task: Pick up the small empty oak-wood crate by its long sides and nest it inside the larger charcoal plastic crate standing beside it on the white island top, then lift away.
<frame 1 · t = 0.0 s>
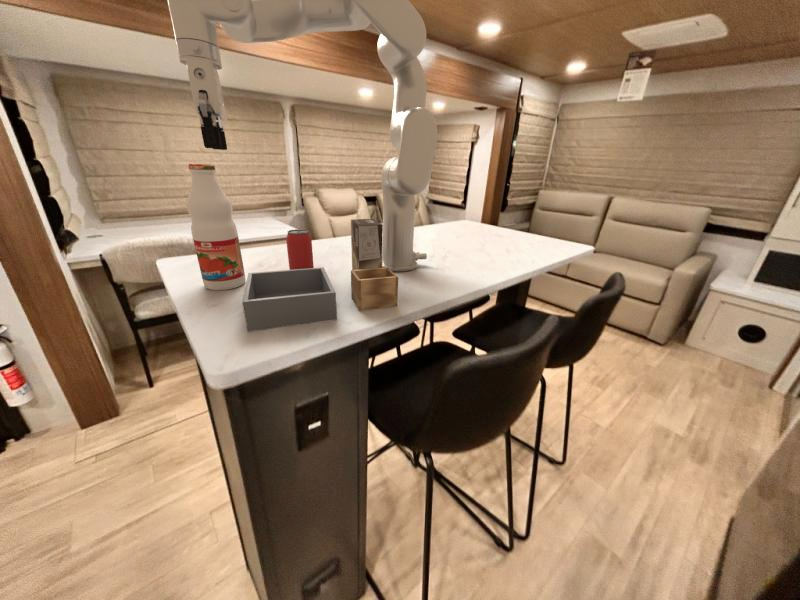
hand: (216, 148, 70), 31 cm above the table, tool pointing down, fingers open, 9 cm apart
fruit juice: (225, 285, 78), on the table
big crate: (292, 307, 67), on the table
beer can: (302, 273, 88), on the table
coffee box: (366, 281, 84), on the table
small crate: (373, 302, 72), on the table
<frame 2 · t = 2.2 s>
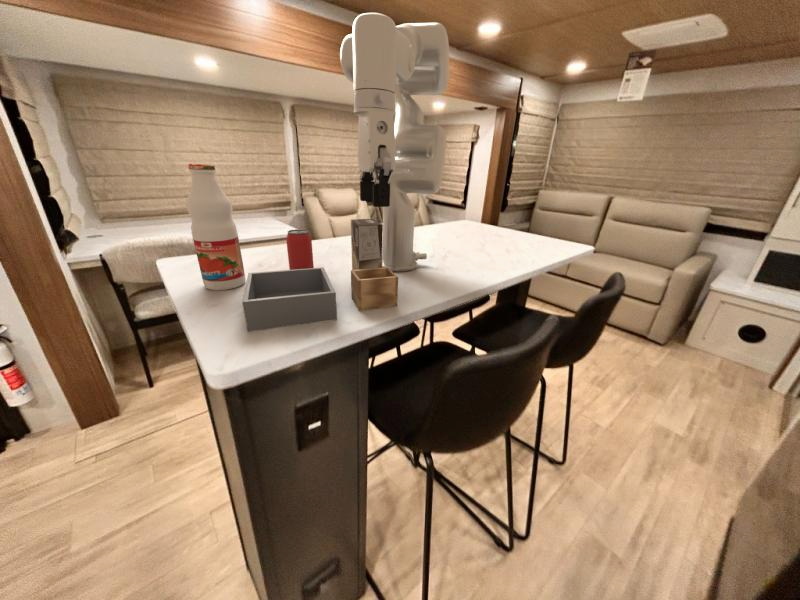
hand: (374, 203, 63), 22 cm above the table, tool pointing down, fingers open, 9 cm apart
nothing on the table moved.
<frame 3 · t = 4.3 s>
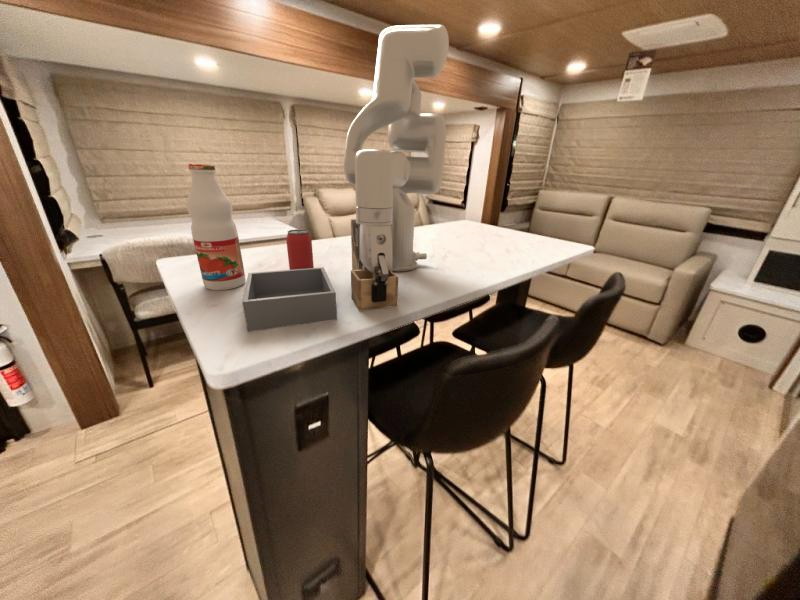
hand: (373, 294, 71), 2 cm above the table, tool pointing down, fingers closed on small crate, 7 cm apart
small crate: (373, 302, 72), on the table, touching gripper
everything else where it was.
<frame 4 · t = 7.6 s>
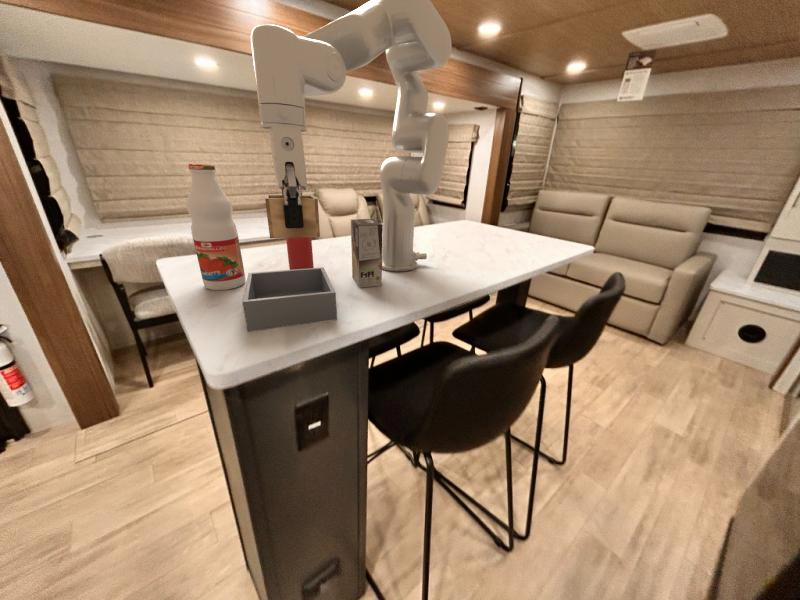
hand: (293, 223, 60), 18 cm above the table, tool pointing down, fingers closed on small crate, 7 cm apart
small crate: (294, 233, 61), point 16 cm above the table, touching gripper
everything else where it was.
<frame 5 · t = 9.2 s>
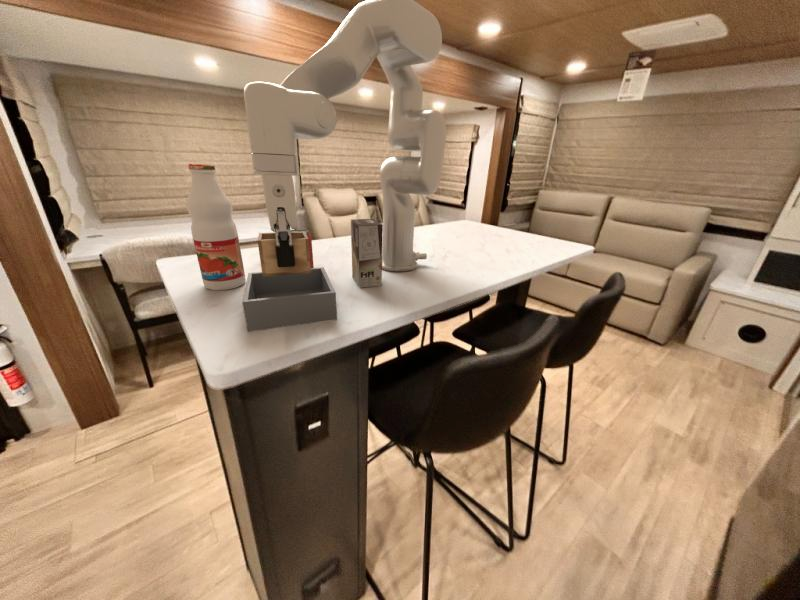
hand: (285, 260, 63), 11 cm above the table, tool pointing down, fingers closed on small crate, 7 cm apart
small crate: (286, 269, 64), point 9 cm above the table, touching gripper
everything else where it was.
when the fingers open (5 cm above the table, at t = 10.8 s): small crate drops 2 cm, resting on big crate.
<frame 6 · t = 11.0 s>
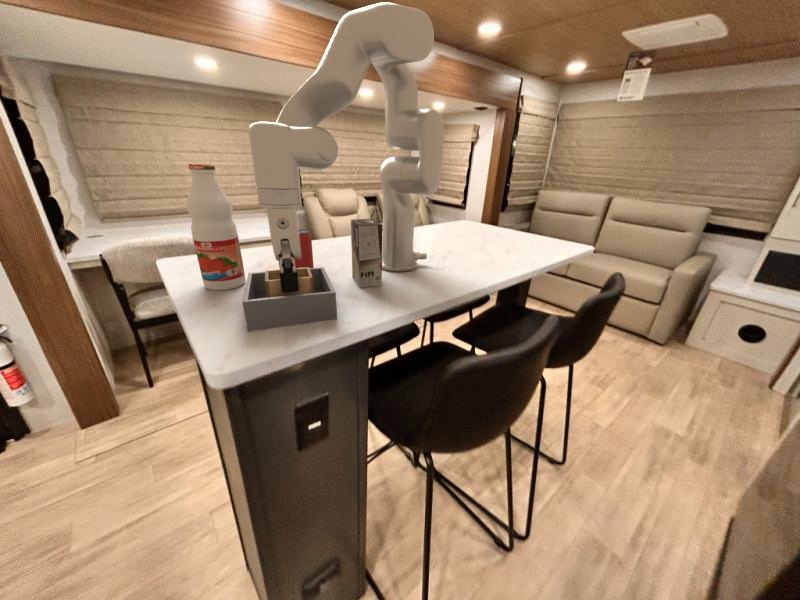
hand: (289, 283, 65), 6 cm above the table, tool pointing down, fingers open, 9 cm apart
small crate: (292, 304, 67), point 1 cm above the table, touching big crate
everything else where it was.
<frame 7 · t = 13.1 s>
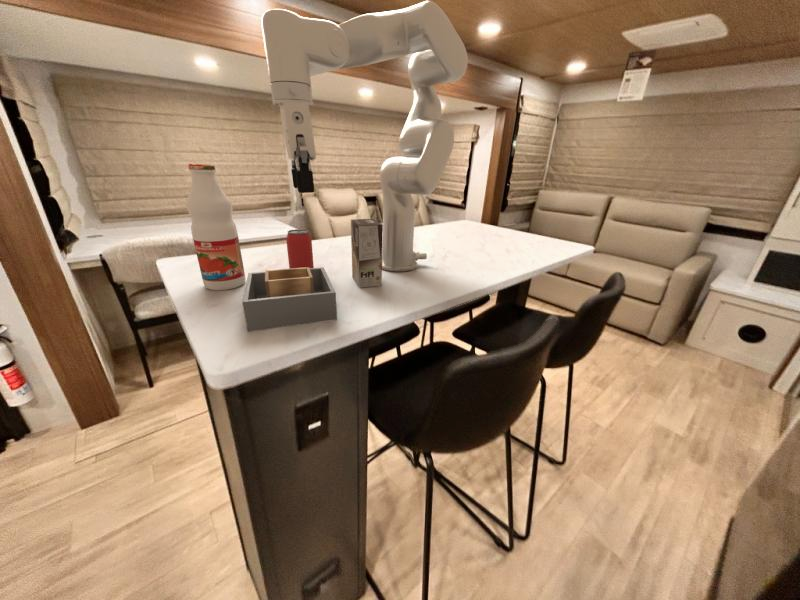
hand: (303, 189, 67), 24 cm above the table, tool pointing down, fingers open, 9 cm apart
nothing on the table moved.
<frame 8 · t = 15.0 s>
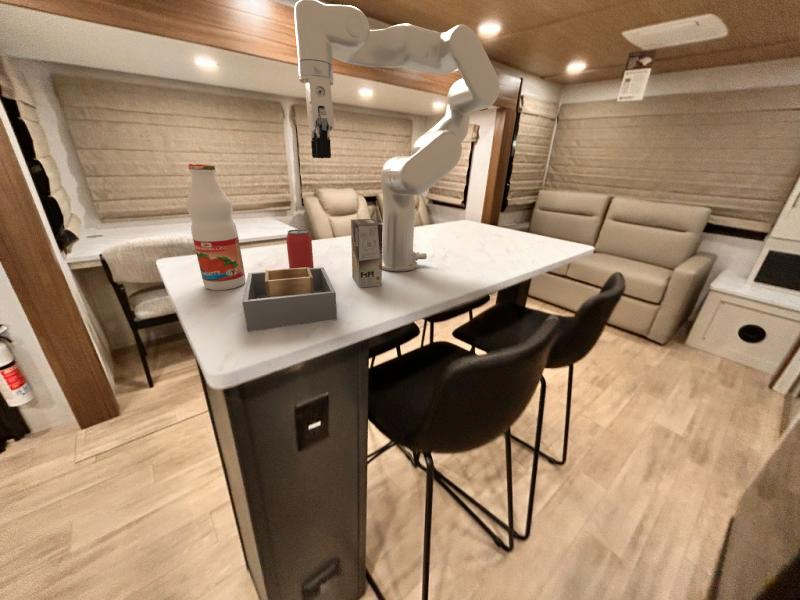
hand: (321, 157, 77), 30 cm above the table, tool pointing down, fingers open, 9 cm apart
nothing on the table moved.
at the end: small crate inside the target area on the big crate (0.1 cm from its centre), point 0.8 cm above the big crate's base; small crate tilted 0°; the gripper is holding nothing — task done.
